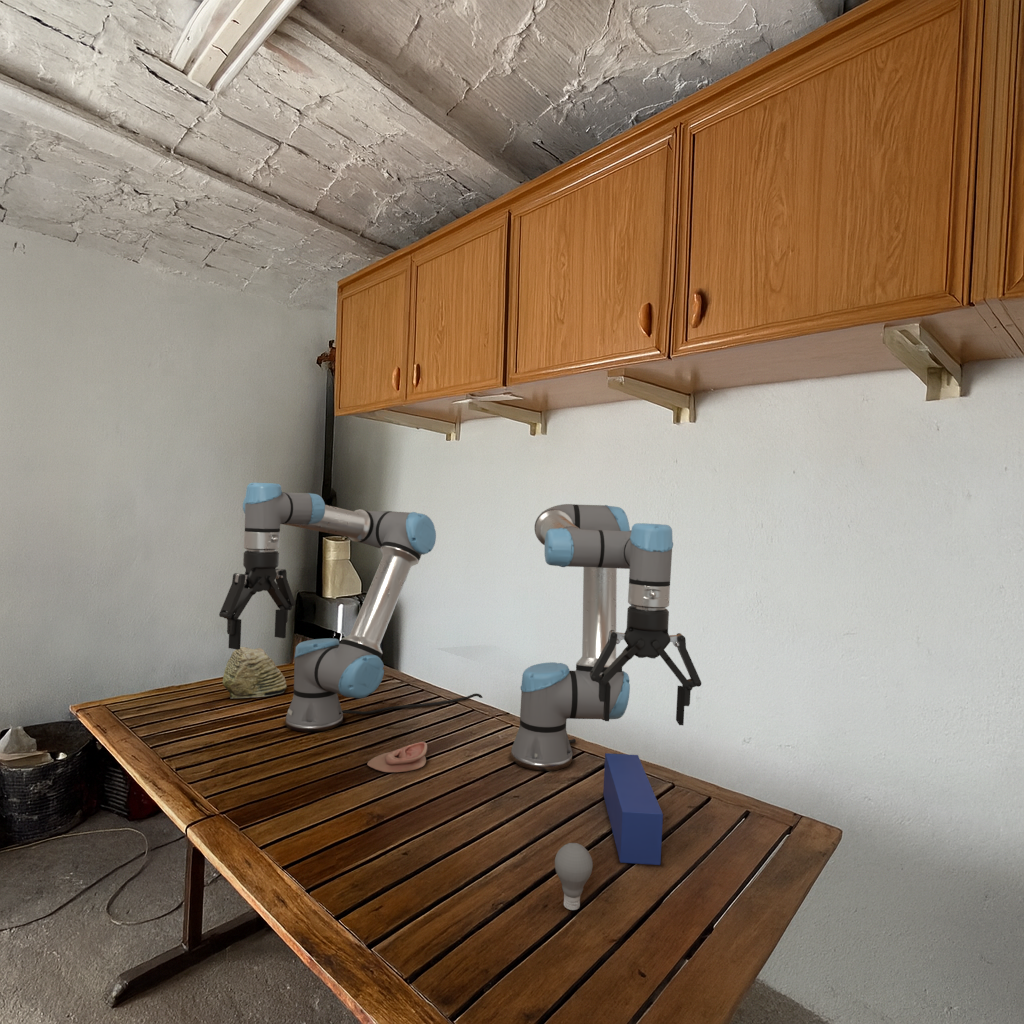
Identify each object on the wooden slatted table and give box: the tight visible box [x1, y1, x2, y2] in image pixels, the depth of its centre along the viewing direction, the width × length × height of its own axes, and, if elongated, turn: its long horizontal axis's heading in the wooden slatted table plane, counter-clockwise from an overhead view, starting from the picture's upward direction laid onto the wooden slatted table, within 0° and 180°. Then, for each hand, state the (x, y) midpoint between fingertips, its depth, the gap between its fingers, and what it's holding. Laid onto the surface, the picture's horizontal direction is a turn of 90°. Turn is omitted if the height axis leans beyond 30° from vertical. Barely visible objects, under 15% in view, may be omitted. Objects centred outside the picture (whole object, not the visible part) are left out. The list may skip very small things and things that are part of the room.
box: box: [602, 752, 664, 866], centre depth 127 cm, size 27×7×9 cm, turn 178°
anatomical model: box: [366, 741, 428, 773], centre depth 152 cm, size 13×4×12 cm
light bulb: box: [554, 842, 594, 911], centre depth 100 cm, size 6×6×10 cm
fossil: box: [222, 646, 288, 699], centre depth 198 cm, size 9×18×15 cm, turn 132°
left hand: (258, 642), depth 145 cm, fingers open, 13 cm apart
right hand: (642, 721), depth 118 cm, fingers open, 13 cm apart
